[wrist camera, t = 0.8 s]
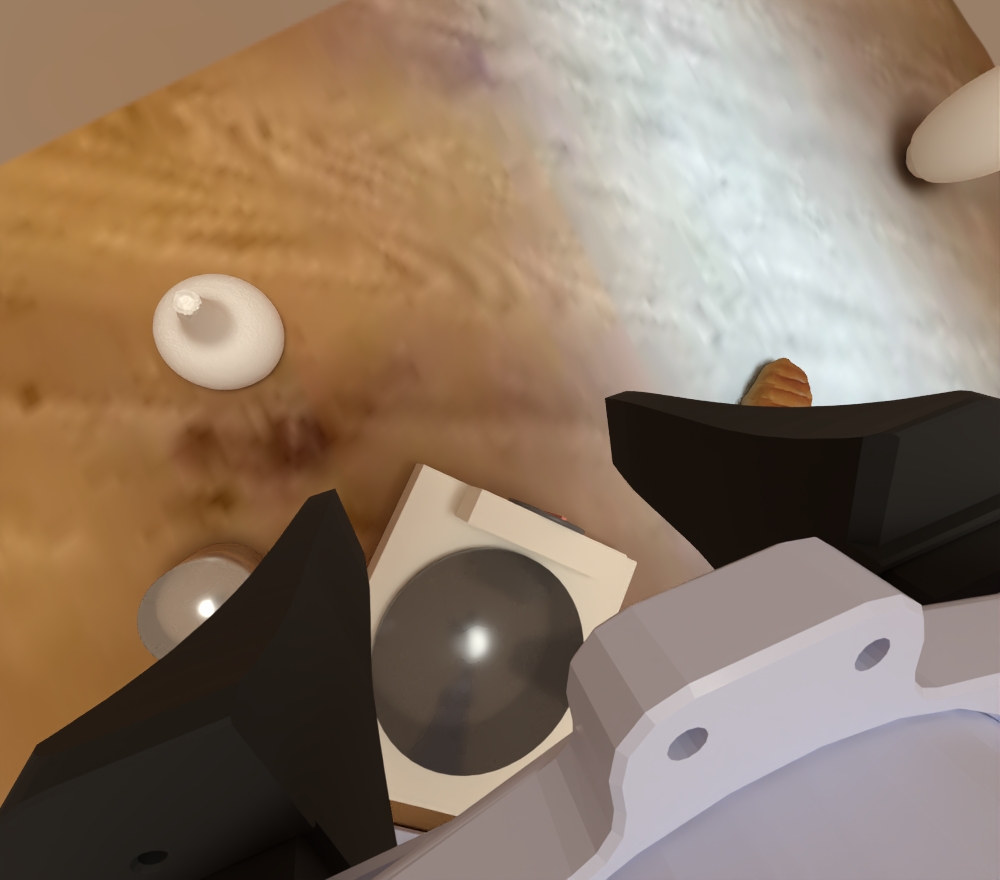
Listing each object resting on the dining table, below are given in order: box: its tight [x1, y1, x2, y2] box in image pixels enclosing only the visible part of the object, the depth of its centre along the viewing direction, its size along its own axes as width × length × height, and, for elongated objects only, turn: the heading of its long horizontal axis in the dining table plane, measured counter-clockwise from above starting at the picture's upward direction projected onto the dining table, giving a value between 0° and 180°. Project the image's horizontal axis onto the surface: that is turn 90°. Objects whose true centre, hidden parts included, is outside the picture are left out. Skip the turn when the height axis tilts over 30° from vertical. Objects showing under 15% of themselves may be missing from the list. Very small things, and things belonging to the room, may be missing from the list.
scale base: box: [367, 463, 637, 816], centre depth 29 cm, size 18×16×6 cm
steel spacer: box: [137, 543, 263, 660], centre depth 25 cm, size 5×5×5 cm
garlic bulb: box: [153, 274, 284, 390], centre depth 24 cm, size 6×6×8 cm
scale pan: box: [371, 547, 584, 776], centre depth 29 cm, size 13×13×1 cm
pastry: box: [741, 358, 812, 407], centre depth 39 cm, size 9×7×4 cm
